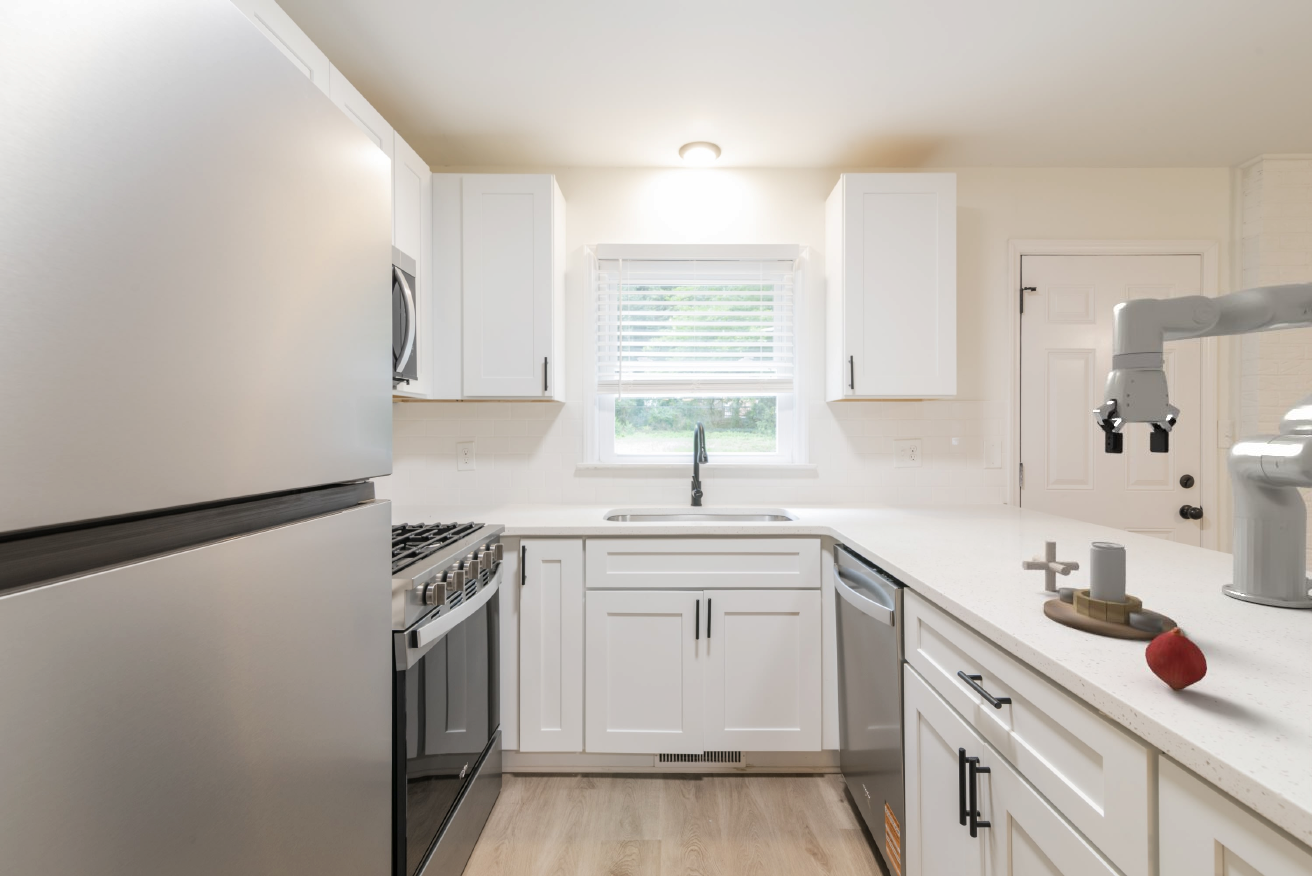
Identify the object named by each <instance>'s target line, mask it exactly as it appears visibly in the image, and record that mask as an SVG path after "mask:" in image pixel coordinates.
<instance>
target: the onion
mask: <svg viewBox="0 0 1312 876" xmlns="http://www.w3.org/2000/svg"><path fill="white" fill-rule="evenodd" d="M1144 654H1145V655H1144V656H1145V659H1146V663H1147V666H1148V667H1149V669H1150V670H1151V672H1152V673H1153V674H1154V675H1155V676H1156V677H1157V678H1159V679H1160V680H1161V681H1162V682H1164V683H1165V684H1166V685H1167V686H1169V687H1170V688H1171V689H1172V690H1175V691H1181V690H1184V689H1185V688H1189V687H1190V686H1192V685H1194V684H1196V683H1199V682H1201V681H1202V680H1203V678H1205V676H1206V674H1207V671H1208V664H1207V660H1206V657H1205V655H1204V653H1203V651H1202V650H1201V649H1200V647H1199V646H1198V645H1197V644H1195V643H1194V642H1193V640H1190V639H1189V638H1188V637H1187V636H1185V635H1184V633H1183V632H1182V628H1179V627H1177V628H1173V630H1171V631H1169V632H1167V633H1164V634H1161V635H1159V636H1158V637H1156V638H1155V639H1154V640H1151V642H1149V643H1148V644H1147V646H1146V648H1145V652H1144Z"/></svg>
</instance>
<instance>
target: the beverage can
mask: <svg viewBox="0 0 1312 876" xmlns="http://www.w3.org/2000/svg"><path fill="white" fill-rule="evenodd" d="M1090 544H1091V545H1090V547H1089V556H1090V558H1089V568H1090V569H1089V575H1090V576H1089V586H1090V587H1089V589H1090V598H1092V599H1096V600H1101V601H1106V602H1116V603H1125V594H1126V590H1127V589H1126V586H1127V585H1126V581H1127V579H1126V577H1127V573H1126V572H1127V567H1126V564H1127V562H1126V561H1127V557H1126V556H1127V555H1126V554H1127V551H1126V549H1125V547H1126V546H1125V545H1124V544H1121V543H1117V542H1116V543H1115V542H1109V541H1093V542H1091V543H1090Z"/></svg>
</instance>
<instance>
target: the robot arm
mask: <svg viewBox="0 0 1312 876" xmlns="http://www.w3.org/2000/svg"><path fill="white" fill-rule="evenodd" d="M1112 310H1113V311H1112V361H1111V363H1112V365H1111V366H1112V367H1111V369H1112V371H1111V372H1108V375H1107V378H1106V381H1105V387H1104V393H1103V403H1102V405H1101V406H1099V407H1097V408H1095V409H1094V410H1093V414H1094V417H1095V418H1096V420H1097V422H1096V423H1097V425H1098V426H1099V427H1100V428H1101V432H1103V433H1104V438H1105V439H1104V452H1105V453H1106V454H1119V455H1121V454H1123V452H1124V451H1123V450H1124V449H1123V448H1124V435H1123V433H1124V432H1120V431H1121V430H1122V429H1123V428H1124V426H1125V425H1126V423H1127V424H1130V423H1132V424H1133V423H1136V424H1138V423H1142V424H1143V423H1147V425H1148V426H1149V427H1150V429H1152V431H1150V433H1149V451H1150V453H1160V454H1168V453H1169V451H1170V450H1169V449H1170V448H1169V447H1170V439H1169V438H1170V433H1171V432H1172V431H1173V427H1174V426H1175V425H1176V423H1177V419H1178V417H1179V415H1180V412H1181V411H1180V408H1178V407H1176V406H1174V405H1173V404H1171V403H1170V398H1169V397H1170V396H1169V389H1168V388H1169V386H1168V381H1167V376H1166V372H1165V370H1164V365H1165V359H1164V342H1172V341H1174V342H1175V341H1183V340H1190V339H1191V340H1192V339H1200V338H1209V337H1219V336H1220V337H1221V336H1223V337H1224V336H1237V335H1247V334H1254V333H1265V332H1271V331H1272V332H1273V331H1274V332H1275V331H1282V330H1291V329H1293V330H1294V329H1302V328H1312V281H1305V282H1304V281H1303V282H1298V283H1288V284H1279V285H1277V284H1276V285H1268V286H1257V287H1254V288H1253V287H1252V288H1247V289H1242V290H1238V291H1234V292H1233V291H1232V292H1231V293H1230V292H1229V293H1226V294H1222V295H1217V296H1215V297H1208V296H1204V295H1200V294H1199V295H1197V294H1195V295H1194V294H1192V295H1185V296H1178V297H1171V298H1164V299H1163V298H1162V299H1157V298H1153V297H1152V298H1150V297H1149V298H1139V299H1138V298H1137V299H1130V300H1126V301H1122V302H1120V303H1117V304H1116V305H1115V306H1114V307H1113V309H1112ZM1278 431H1279V433H1280V434H1277V433H1275V434H1271V433H1270V434H1268V433H1267V434H1266V433H1265V434H1255V435H1250V436H1249V435H1248V436H1246V437H1243V438H1241V439H1239V440H1237V441H1236V442H1235V443H1233V445H1231V446H1230V448H1229V450H1228V451H1227V454H1226V455H1227V457H1226V463H1227V469H1228V473H1229V477H1230V480H1231V485H1232V492H1233V493H1232V494H1233V539H1232V541H1233V542H1232V545H1233V549H1232V551H1233V553H1232V558H1233V559H1232V583H1227V584H1223V585H1222V586H1221V592H1222V593H1223V594H1224V595H1227V596H1229V597H1232V598H1235V599H1239V600H1241V601H1246V602H1250V603H1255V604H1262V605H1266V606H1274V607H1282V608H1294V609H1312V595H1310V594H1309V591H1310V590H1312V578H1309V577H1306V576H1307V523H1308V522H1307V520H1308V511H1307V505H1306V502H1305V500H1304V497H1303V496H1302V494H1301V492H1300V491H1299V489H1298V488H1302V489H1303V488H1304V489H1312V390H1311V391H1309V393H1308V394H1306V395H1304V396H1303V397H1302V398H1301V399H1300V400H1299V401H1297V402H1296V403H1295V404H1293V406H1291V407H1290V408H1289V409H1288V410H1287V411H1286V412H1285V413H1283V415H1282V416H1281V418H1280V420H1279V422H1278Z"/></svg>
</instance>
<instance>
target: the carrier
mask: <svg viewBox="0 0 1312 876" xmlns="http://www.w3.org/2000/svg"><path fill="white" fill-rule="evenodd" d="M1043 613H1044V615H1045V616H1046V617H1047V618H1048V619H1049V620H1052V621H1053V622H1056V623H1058V624H1060V625H1063V626H1065V625H1066V627H1068V626H1069V628H1071V627H1072V629H1074V630H1075V629H1076V630H1078V629H1079V631H1082V632H1086V633H1090V634H1096V635H1100V636H1106V637H1111V638H1118V639H1123V640H1124V639H1125V640H1134V639H1137V641H1153V640H1154V639H1155V638H1156V637H1158V636H1159V635H1161V634H1164V633H1167V632H1169V631H1171V630H1173V628H1178V623H1177V622H1176V621H1175V620H1173V619H1172V618H1171V617H1168V616H1166V615H1164V614H1162V613H1159V612H1156V611H1153V610H1149V609H1147V608H1143V600H1141V599H1140V598H1139V597H1137V596H1133V595H1131V594H1127V593H1125V603H1116V602H1106V601H1101V600H1096V599H1092V598H1090V588H1081V589H1080V588H1075V587H1060V588H1059V597H1058V598H1052V599H1049V600H1046V601H1045V602H1044V603H1043ZM1138 639H1140V640H1138Z"/></svg>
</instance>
